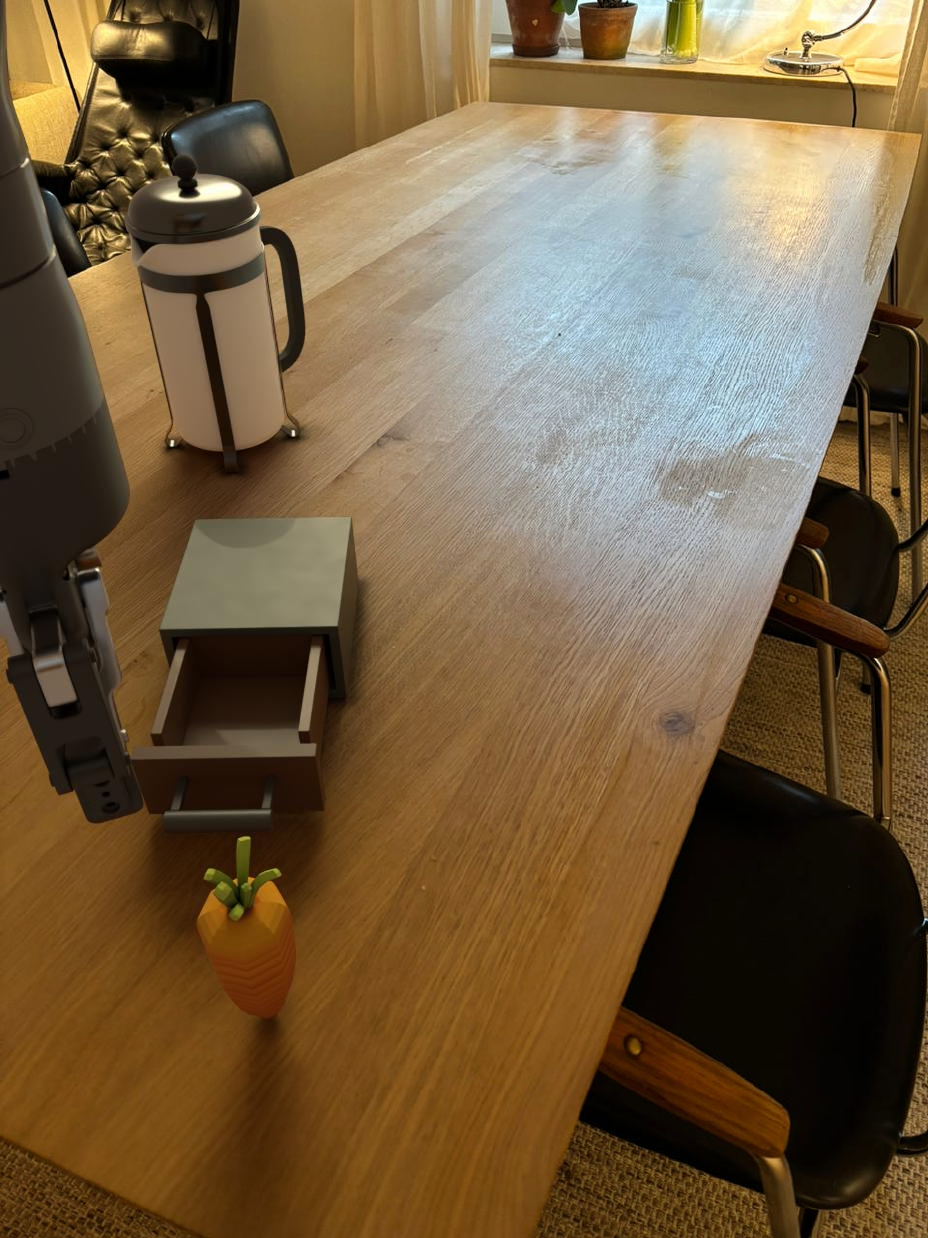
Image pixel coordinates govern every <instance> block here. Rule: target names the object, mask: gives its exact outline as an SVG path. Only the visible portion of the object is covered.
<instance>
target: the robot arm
mask: <svg viewBox="0 0 928 1238" xmlns="http://www.w3.org/2000/svg"><path fill="white" fill-rule="evenodd" d="M6 1H7V0H0V638H2V639H3V640H4V641H5V645H6V647H7V651H8V655H9V656H8V657H7V659H6V662H7V668H6V669H5V675H6V678H7V682H8V684H9V685H12V686H13V689H14V691H15V693H16V696H17V698H18V701H19V704H20V706H21V708H22V710H23V713H24V716H25V718H26V721H27V723H28V726H29V728H30V730H31V732H32V735H33V737H34V740H35V742H36V745H37V747H38V749H39V753H40V754H41V757H42V759H43V762H44V764H45V766H46V769H47V772H48V780H49V783H50V785H51V788H54V789H55V791H56V794H57V795H58V796H63V795H66V794H70V793H73V792H75V795H76V798H77V800H78V802H79V804H80V807H81V809H82V812H83V814H84V816H85V819H86V821H87V822H88V823H90V824H95V825H96V824H103V823H106V822H110V821H113V820H117V819H120V818H123V817H126V816H130V815H135V814H137V813H138V812H140V810H142V809H143V807H144V805H145V802H144V798H143V795H142V792H141V788H140V786H139V783H138V780H137V777H136V774H135V771H134V768H133V765H132V762H131V755H130V751H128V745H127V743H129V742H130V738H129V735H128V731H127V728H123V726H122V722H121V719H120V716H119V715H120V714H119V712H118V707H117V704H116V700H115V697H114V693H115V691H117V690H118V689H119V687H120V686H121V684H122V681H123V673H122V669H121V666H120V662H119V658H118V655H117V651H116V647H115V645H114V641H113V637H112V633H111V629H110V625H109V622H108V619H107V614H108V612H109V610H110V599H109V595H108V592H107V588H106V585H105V581H104V578H103V574H102V571H101V568H102V567H103V563H102V559H101V556H100V552H99V548H98V544H99V543H100V542H102V541H103V540H104V539H106V538H107V537H108V536H109V535H110V534H111V533H112V532H113V531H114V530H115V529H116V528H117V526H118V525H119V524H120V522H121V521H122V520H123V518H124V516H125V514H126V513H127V510H128V508H129V505H130V504H129V503H130V499H131V487H130V482H129V479H128V475H127V472H126V471H127V470H126V468H125V464H124V459H123V456H122V452H121V449H120V445H119V441H118V437H117V434H116V432H115V426H114V424H113V420H112V416H111V413H110V409H109V405H108V401H107V398H106V394H105V390H104V386H103V383H102V379H101V375H100V372H99V368H98V365H97V361H96V358H95V353H94V349H93V346H92V343H91V339H90V336H89V331H88V328H87V325H86V322H85V319H84V315H83V312H82V310H81V306H80V304H79V301H78V299H77V296H76V294H75V292H74V289H73V288H72V285H71V283H70V280H69V278H68V275H67V273H66V271H65V269H64V266H63V264H62V260H61V258H60V255H59V253H58V250H57V247H56V244H55V239H54V236H53V232H52V229H51V225H50V221H49V217H48V214H47V210H46V207H45V202H44V199H43V196H42V192H41V188H40V185H39V181H38V179H37V174H36V170H35V168H34V167H35V166H34V164H33V161H32V160H33V159H32V156H31V153H30V152H29V151H30V149H29V146H28V143H27V140H26V137H25V134H24V131H23V129H22V125H21V123H20V119H19V117H18V114H17V110H16V108H15V105H14V100H13V96H12V91H11V85H10V76H9V74H10V73H9V61H8V59H9V58H8V42H7V41H8V24H7V2H6Z"/></svg>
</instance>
